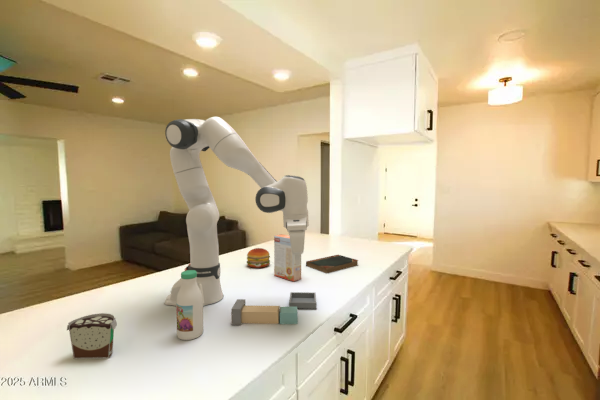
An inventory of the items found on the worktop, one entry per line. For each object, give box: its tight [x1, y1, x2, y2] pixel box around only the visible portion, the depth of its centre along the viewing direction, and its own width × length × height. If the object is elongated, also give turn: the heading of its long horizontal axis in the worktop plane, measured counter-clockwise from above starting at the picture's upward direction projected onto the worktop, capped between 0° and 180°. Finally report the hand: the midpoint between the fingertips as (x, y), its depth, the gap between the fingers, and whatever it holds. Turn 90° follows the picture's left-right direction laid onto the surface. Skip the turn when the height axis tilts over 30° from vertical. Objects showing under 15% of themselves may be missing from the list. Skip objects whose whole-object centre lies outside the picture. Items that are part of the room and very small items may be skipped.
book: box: [305, 254, 359, 274], centre depth 166 cm, size 17×4×25 cm
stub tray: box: [288, 291, 317, 310], centre depth 115 cm, size 10×10×2 cm
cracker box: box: [273, 234, 302, 282], centre depth 145 cm, size 14×6×21 cm, turn 47°
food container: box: [66, 312, 118, 360], centre depth 82 cm, size 12×6×10 cm, turn 92°
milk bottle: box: [175, 270, 204, 341], centre depth 91 cm, size 8×8×20 cm
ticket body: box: [230, 298, 281, 326], centre depth 101 cm, size 16×8×6 cm, turn 89°
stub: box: [279, 306, 299, 325], centre depth 101 cm, size 6×5×4 cm
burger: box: [246, 247, 271, 269], centre depth 166 cm, size 13×14×10 cm
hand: (297, 260), depth 103 cm, fingers open, 8 cm apart
